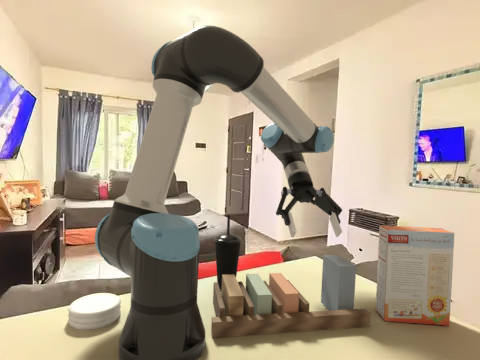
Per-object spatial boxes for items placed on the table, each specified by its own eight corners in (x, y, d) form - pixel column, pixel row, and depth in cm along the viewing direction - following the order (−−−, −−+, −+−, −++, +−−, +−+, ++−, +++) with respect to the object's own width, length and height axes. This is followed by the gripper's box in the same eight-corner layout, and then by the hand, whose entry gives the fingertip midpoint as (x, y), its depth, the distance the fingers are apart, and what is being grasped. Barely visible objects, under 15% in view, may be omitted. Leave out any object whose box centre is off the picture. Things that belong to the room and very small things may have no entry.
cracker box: (434, 313, 69) (440, 227, 68) (450, 327, 63) (457, 232, 62) (373, 308, 71) (378, 223, 70) (383, 321, 65) (389, 228, 64)
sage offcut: (256, 328, 60) (258, 295, 60) (245, 301, 72) (246, 273, 72) (270, 327, 61) (272, 294, 61) (256, 301, 73) (257, 273, 72)
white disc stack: (103, 333, 56) (104, 315, 56) (56, 328, 58) (56, 311, 57) (129, 309, 66) (129, 294, 66) (88, 305, 67) (88, 290, 67)
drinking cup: (228, 279, 86) (231, 212, 85) (245, 288, 80) (248, 216, 79) (206, 285, 81) (209, 214, 80) (223, 295, 75) (226, 218, 74)
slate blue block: (337, 318, 65) (339, 266, 65) (320, 302, 73) (323, 255, 73) (353, 317, 66) (356, 265, 66) (335, 301, 74) (337, 255, 73)
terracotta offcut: (284, 326, 61) (285, 293, 61) (268, 300, 73) (269, 273, 73) (297, 325, 62) (299, 293, 62) (279, 300, 74) (280, 272, 73)
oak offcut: (228, 330, 59) (229, 296, 59) (221, 302, 71) (222, 274, 71) (242, 329, 60) (243, 295, 59) (233, 302, 71) (234, 274, 71)
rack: (212, 337, 56) (213, 312, 56) (206, 302, 70) (207, 282, 70) (370, 326, 62) (371, 303, 62) (335, 296, 77) (336, 278, 76)
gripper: (329, 186, 100) (351, 240, 86) (259, 185, 95) (270, 241, 81) (338, 171, 95) (363, 226, 81) (264, 169, 90) (277, 226, 76)
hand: (316, 234), depth 81 cm, fingers open, 13 cm apart
